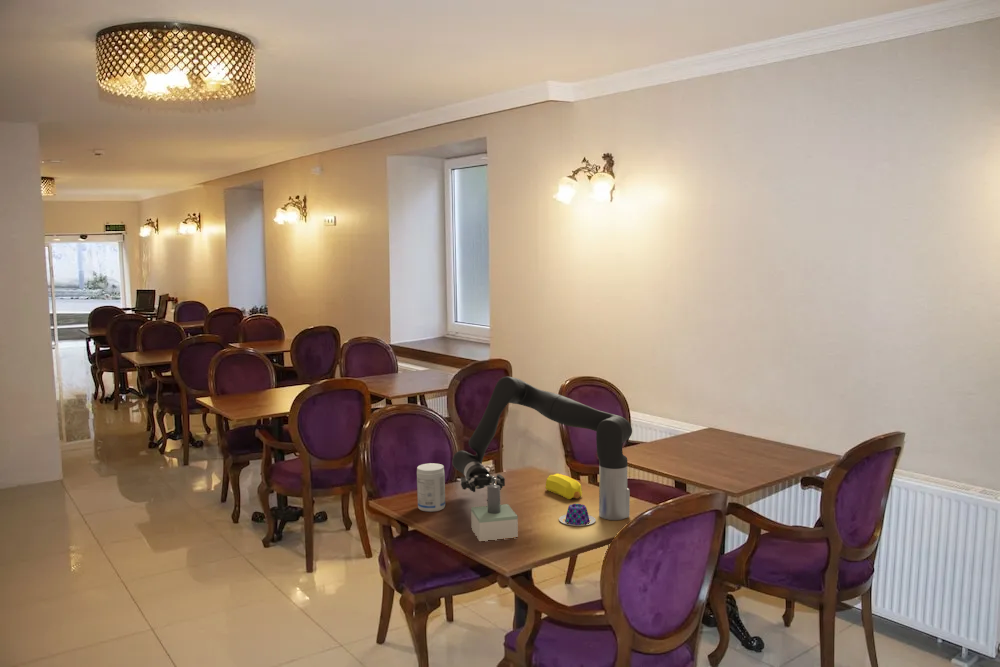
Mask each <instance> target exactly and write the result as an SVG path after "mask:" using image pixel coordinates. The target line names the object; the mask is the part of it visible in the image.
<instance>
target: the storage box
mask: <svg viewBox="0 0 1000 667" xmlns="http://www.w3.org/2000/svg"><path fill="white" fill-rule="evenodd" d="M470 511H471V510H470ZM470 513H471V514H470V516H471V519H470V520H471V522H470V523H471V525H470V526H471V528H472V529H471V530H472V532H473V533H475V534H474V536H475V537H476V536H477V537H476V538H477V540H478V541H485V542H489V541H488V540H495V541H498V540H497V539H503V538H504V540H506V539H505V538H513V537H519V536H518V534H519V532H518V531H519V527H518V526H519V524H518V521H519V518H518V519H514V520H504V521H493V522H483V523H479V521H478V520H477V518H476V517H475V515H474V514H473V512H472V511H471V512H470Z"/></svg>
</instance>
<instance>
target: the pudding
mask: <svg viewBox="0 0 1000 667" xmlns="http://www.w3.org/2000/svg"><path fill="white" fill-rule="evenodd" d="M565 517H566V519H565ZM563 519H565V521H564V522H563ZM589 519H590V520H591V521H590V520H589ZM558 520H559V522H561V523H562V524H564V525H567V526H568V525H569V526H575V527H582V526H583V527H584V526H588V525H592V524H594V523H596V520H597V519H596V518H595V517H594V516H592V515H590V514H589V512H588V509H587V506H586V505H585V504H582V503H573V504H572V503H571V504H569V505H568V508H567V511H566V514H564V515H561V516H560V517H558ZM567 522H568V523H569V524H567ZM589 522H590V523H589ZM588 523H589V524H588ZM581 524H582V525H581ZM585 524H586V525H585Z"/></svg>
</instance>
